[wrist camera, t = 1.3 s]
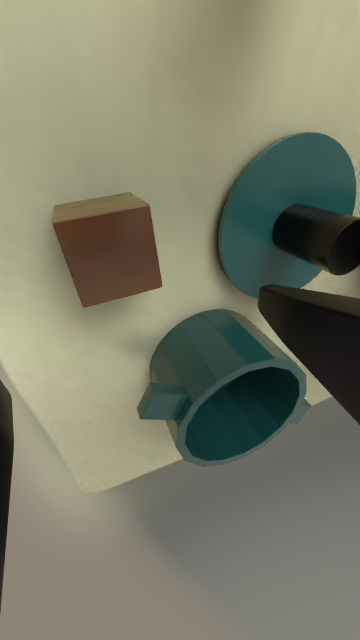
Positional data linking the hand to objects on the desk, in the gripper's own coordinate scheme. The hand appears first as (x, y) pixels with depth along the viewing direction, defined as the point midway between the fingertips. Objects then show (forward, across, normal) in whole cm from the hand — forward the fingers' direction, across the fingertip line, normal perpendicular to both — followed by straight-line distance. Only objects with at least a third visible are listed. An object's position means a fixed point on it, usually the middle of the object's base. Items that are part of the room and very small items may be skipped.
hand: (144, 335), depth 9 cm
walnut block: (+11, 0, 0) cm, 11 cm away
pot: (+11, -6, +14) cm, 19 cm away
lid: (+10, -14, +2) cm, 18 cm away
